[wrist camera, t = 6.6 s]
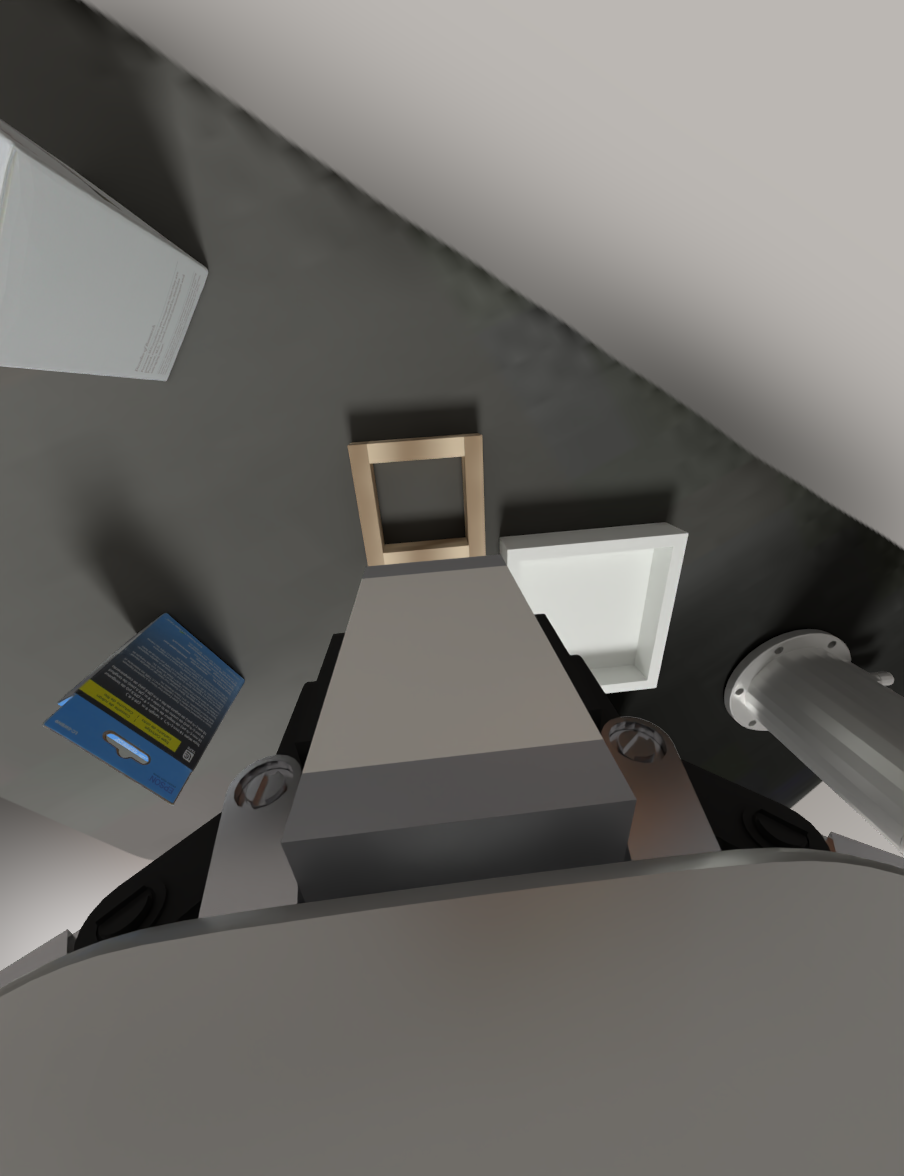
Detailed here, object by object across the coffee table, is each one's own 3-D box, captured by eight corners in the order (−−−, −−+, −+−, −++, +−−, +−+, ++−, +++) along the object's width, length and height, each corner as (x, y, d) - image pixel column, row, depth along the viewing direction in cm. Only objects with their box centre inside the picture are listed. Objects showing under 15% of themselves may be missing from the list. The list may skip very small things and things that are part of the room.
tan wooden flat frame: (477, 433, 28) (482, 435, 26) (481, 550, 32) (485, 559, 30) (351, 442, 28) (347, 445, 26) (371, 560, 32) (368, 570, 30)
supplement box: (214, 270, 23) (22, 144, 12) (168, 385, 25) (-31, 372, 14) (74, 164, 21) (-337, -122, 9) (37, 301, 23) (-331, 204, 12)
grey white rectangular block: (500, 554, 13) (637, 799, 5) (501, 663, 15) (601, 968, 7) (365, 566, 13) (280, 843, 5) (384, 676, 15) (347, 1003, 7)
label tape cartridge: (133, 633, 33) (-10, 754, 22) (167, 609, 32) (38, 721, 21) (217, 700, 36) (131, 832, 25) (249, 679, 36) (175, 806, 25)
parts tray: (665, 522, 33) (688, 533, 30) (639, 667, 39) (656, 687, 36) (499, 537, 32) (507, 549, 29) (500, 683, 38) (507, 704, 36)
